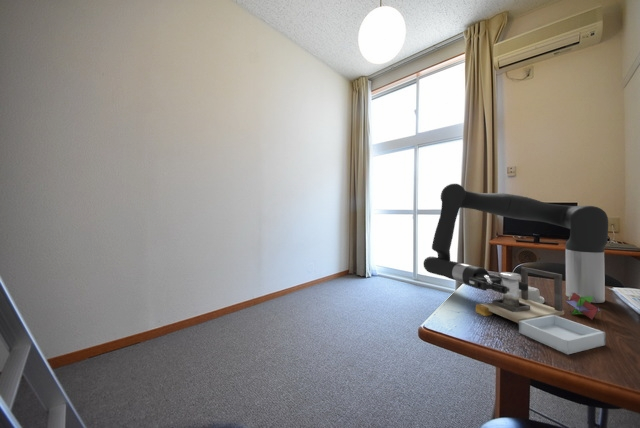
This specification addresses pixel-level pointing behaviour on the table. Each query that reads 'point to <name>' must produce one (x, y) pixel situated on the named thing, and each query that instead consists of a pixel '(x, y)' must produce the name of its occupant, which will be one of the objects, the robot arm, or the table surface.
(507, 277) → the pin
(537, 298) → the mechanical component
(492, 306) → the dolly
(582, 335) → the tray
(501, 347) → the table surface
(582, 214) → the robot arm
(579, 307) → the geometric puzzle
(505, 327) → the table surface
